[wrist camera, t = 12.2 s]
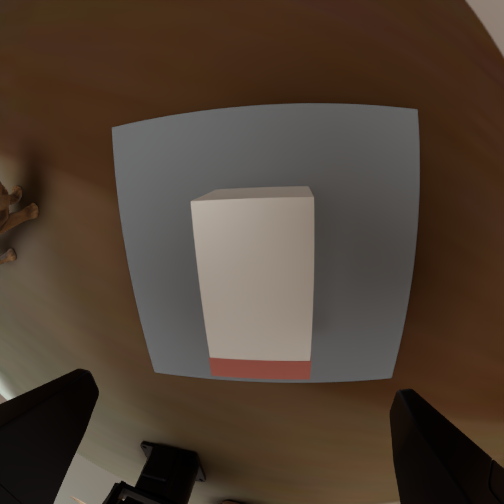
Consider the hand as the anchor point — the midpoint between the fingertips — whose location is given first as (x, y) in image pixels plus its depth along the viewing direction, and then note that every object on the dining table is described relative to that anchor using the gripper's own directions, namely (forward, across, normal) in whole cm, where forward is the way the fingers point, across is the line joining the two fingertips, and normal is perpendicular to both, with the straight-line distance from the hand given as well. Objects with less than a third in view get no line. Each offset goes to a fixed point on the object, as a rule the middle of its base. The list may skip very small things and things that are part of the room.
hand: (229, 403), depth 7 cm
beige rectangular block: (+11, 0, 0) cm, 11 cm away
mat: (+11, 0, 0) cm, 11 cm away
